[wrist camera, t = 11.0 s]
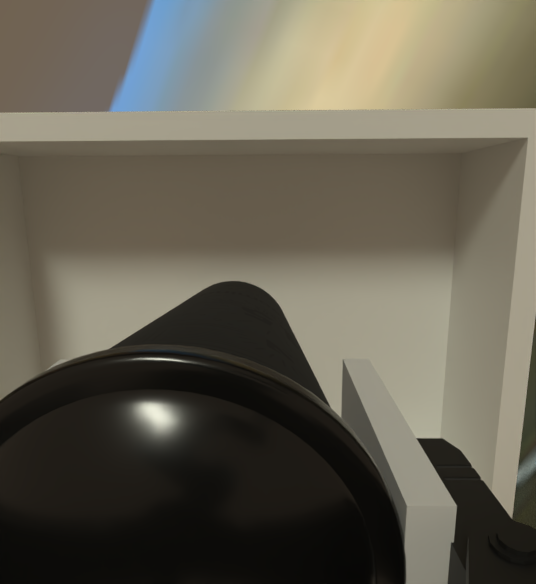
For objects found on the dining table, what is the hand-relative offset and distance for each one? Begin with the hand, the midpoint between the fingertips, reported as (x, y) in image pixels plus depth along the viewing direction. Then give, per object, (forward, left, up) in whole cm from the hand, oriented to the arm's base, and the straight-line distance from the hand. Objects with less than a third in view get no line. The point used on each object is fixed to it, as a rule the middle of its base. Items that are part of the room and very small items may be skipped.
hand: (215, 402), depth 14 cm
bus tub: (0, 0, -12) cm, 12 cm away
